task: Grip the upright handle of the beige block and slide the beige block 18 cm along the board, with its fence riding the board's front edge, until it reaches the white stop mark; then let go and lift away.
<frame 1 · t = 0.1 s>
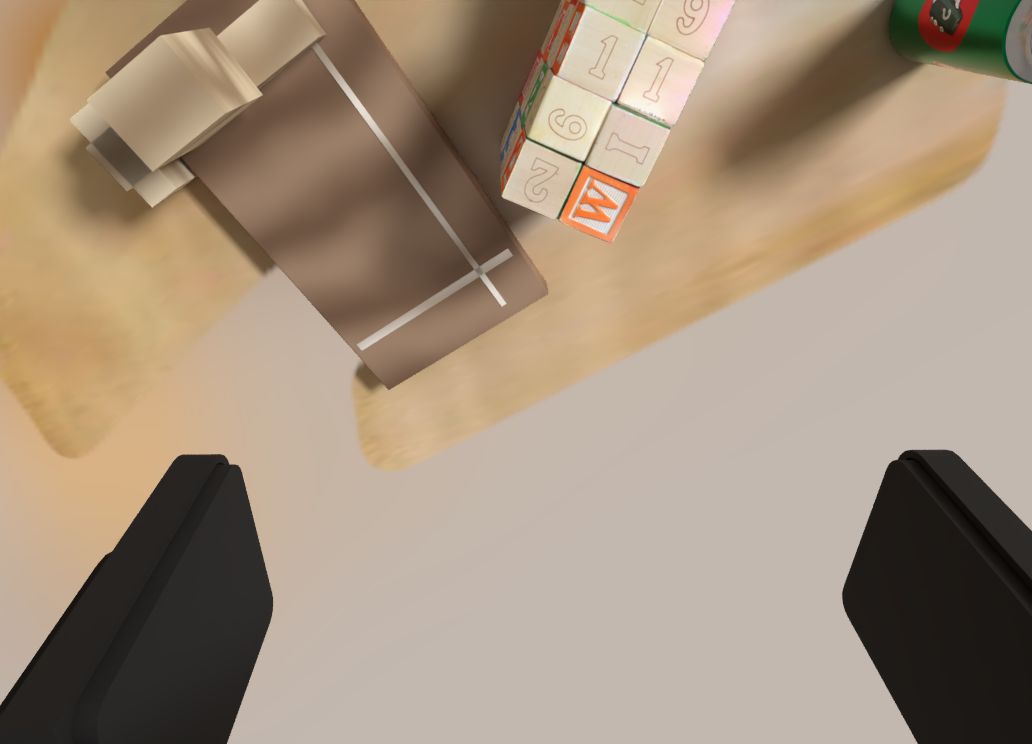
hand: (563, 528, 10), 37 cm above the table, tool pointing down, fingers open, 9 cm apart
beige block: (190, 97, 36), point 5 cm above the table, slide at 0.0 cm
soda can: (925, 14, 40), on the table
board: (352, 184, 44), on the table
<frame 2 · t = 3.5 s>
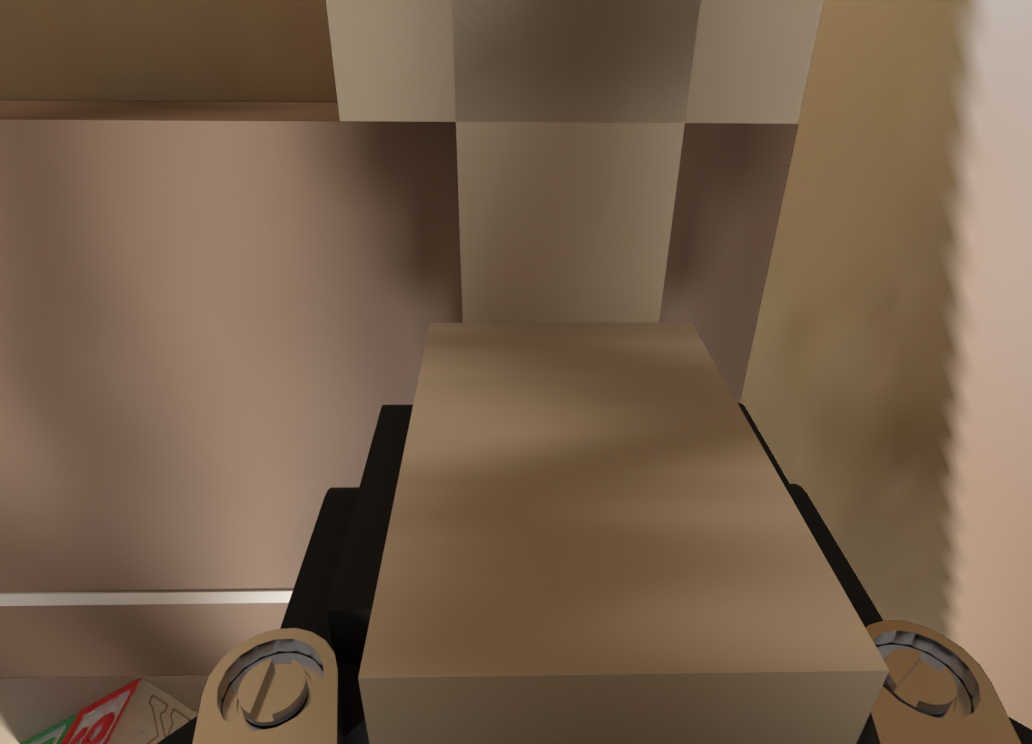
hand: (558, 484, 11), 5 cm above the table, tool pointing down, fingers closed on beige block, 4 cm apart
beige block: (561, 469, 10), point 5 cm above the table, slide at 0.0 cm, touching gripper
board: (162, 413, 16), on the table
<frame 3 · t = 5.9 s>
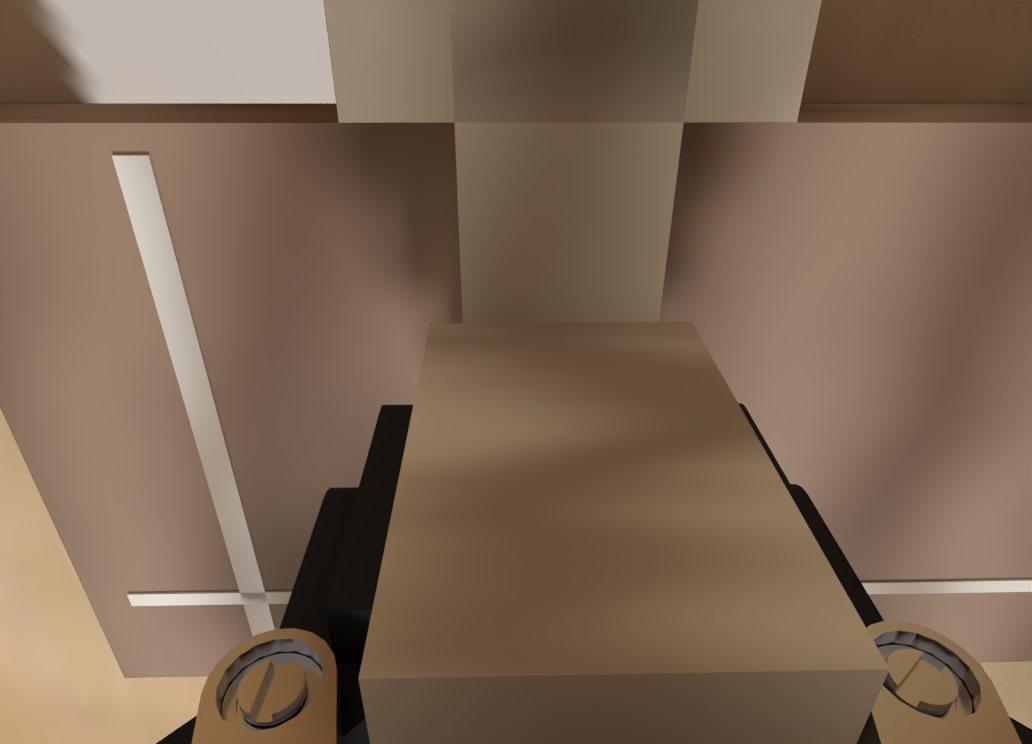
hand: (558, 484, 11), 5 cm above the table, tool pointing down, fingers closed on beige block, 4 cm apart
beige block: (561, 469, 10), point 5 cm above the table, slide at 11.0 cm, touching gripper
board: (622, 411, 16), on the table
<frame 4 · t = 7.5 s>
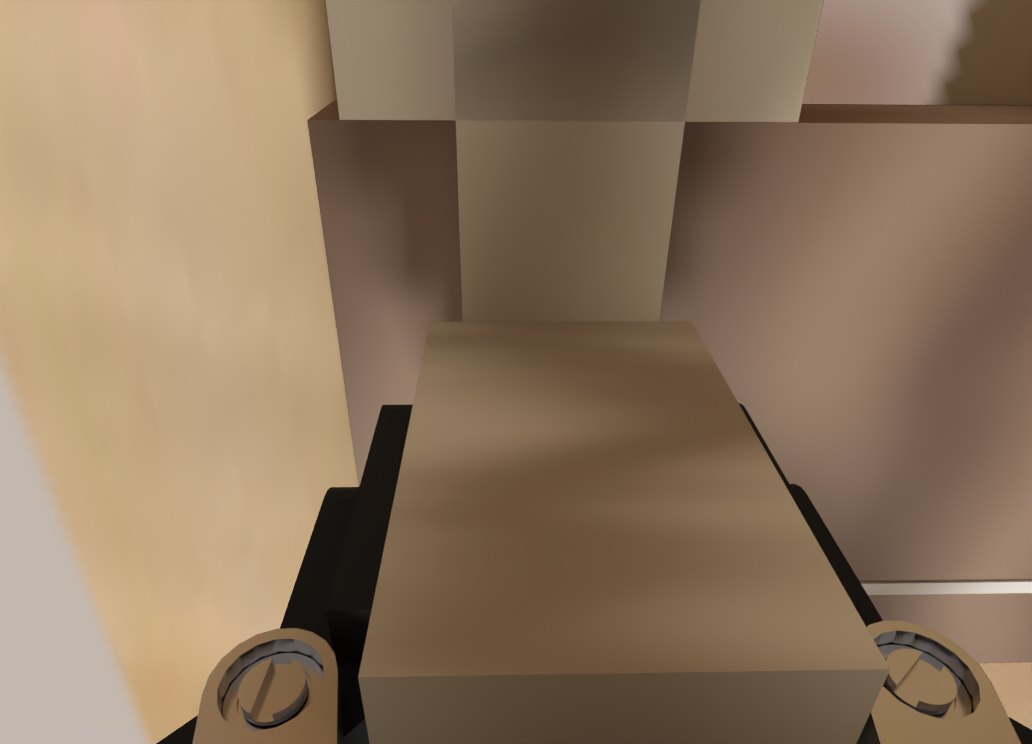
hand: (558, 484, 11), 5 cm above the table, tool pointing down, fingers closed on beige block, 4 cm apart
beige block: (561, 468, 10), point 5 cm above the table, slide at 18.0 cm, touching gripper
board: (903, 409, 16), on the table
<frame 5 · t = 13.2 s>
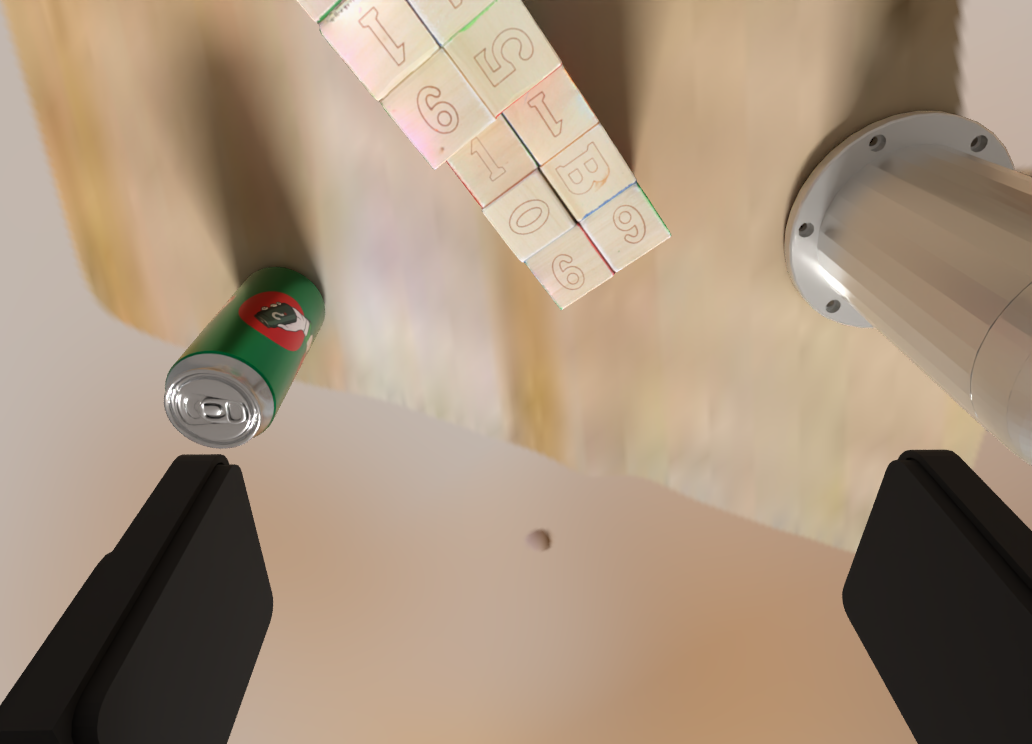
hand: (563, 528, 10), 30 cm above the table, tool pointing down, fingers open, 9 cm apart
soda can: (286, 300, 41), on the table
stack of blocks: (477, 51, 34), on the table
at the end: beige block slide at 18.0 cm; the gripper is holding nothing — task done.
